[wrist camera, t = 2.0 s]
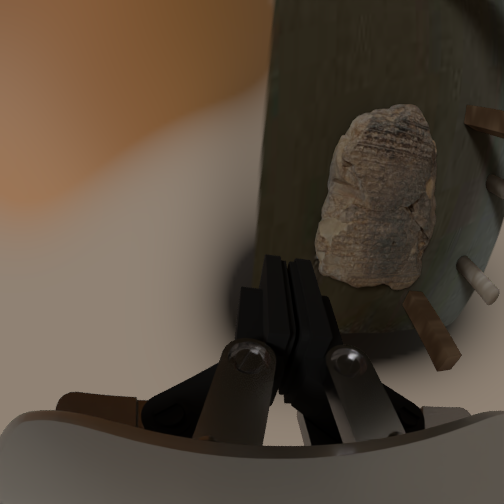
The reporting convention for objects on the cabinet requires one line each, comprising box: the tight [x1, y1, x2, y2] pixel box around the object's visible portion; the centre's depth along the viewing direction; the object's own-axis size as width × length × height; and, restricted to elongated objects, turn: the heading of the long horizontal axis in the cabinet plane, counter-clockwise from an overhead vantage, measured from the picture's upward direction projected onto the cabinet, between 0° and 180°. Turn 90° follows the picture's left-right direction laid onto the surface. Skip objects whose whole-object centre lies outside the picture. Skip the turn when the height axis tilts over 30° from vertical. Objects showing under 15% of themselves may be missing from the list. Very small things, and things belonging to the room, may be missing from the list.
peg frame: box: [402, 105, 504, 371], centre depth 21 cm, size 27×9×12 cm, turn 172°
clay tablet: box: [315, 104, 437, 290], centre depth 24 cm, size 14×5×20 cm
